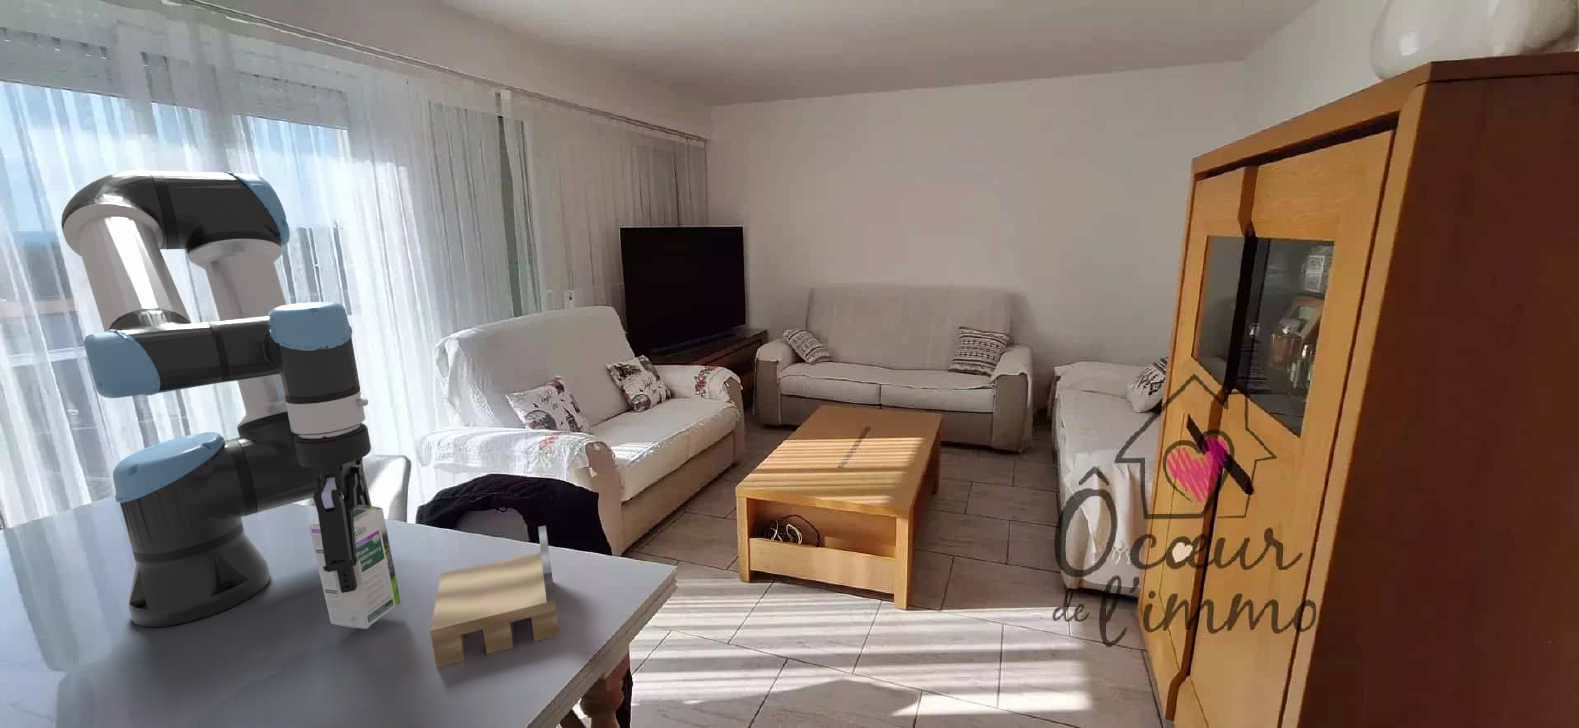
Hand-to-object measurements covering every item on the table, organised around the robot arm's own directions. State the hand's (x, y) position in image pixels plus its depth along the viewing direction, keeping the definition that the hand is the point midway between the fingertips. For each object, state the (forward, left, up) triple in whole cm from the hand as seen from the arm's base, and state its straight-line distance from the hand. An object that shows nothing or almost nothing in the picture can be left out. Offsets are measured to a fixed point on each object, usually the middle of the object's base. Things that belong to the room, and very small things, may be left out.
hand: (362, 592), depth 84 cm
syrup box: (0, 0, -3) cm, 3 cm away
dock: (+6, +16, -5) cm, 18 cm away
